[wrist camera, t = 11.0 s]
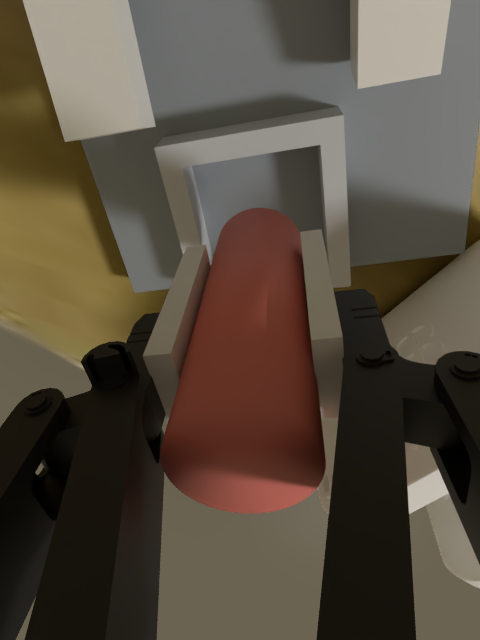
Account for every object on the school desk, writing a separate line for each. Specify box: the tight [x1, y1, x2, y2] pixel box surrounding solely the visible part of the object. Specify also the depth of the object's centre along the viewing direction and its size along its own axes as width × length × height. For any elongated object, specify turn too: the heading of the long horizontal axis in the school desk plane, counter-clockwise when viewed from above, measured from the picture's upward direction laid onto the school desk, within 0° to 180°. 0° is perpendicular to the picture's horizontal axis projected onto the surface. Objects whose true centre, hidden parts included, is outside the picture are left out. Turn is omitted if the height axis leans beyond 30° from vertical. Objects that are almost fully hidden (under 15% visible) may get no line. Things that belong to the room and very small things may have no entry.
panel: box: [80, 0, 480, 293], centre depth 19 cm, size 20×18×4 cm
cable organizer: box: [319, 240, 480, 588], centre depth 23 cm, size 15×11×12 cm
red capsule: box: [160, 208, 326, 513], centre depth 14 cm, size 4×4×11 cm
